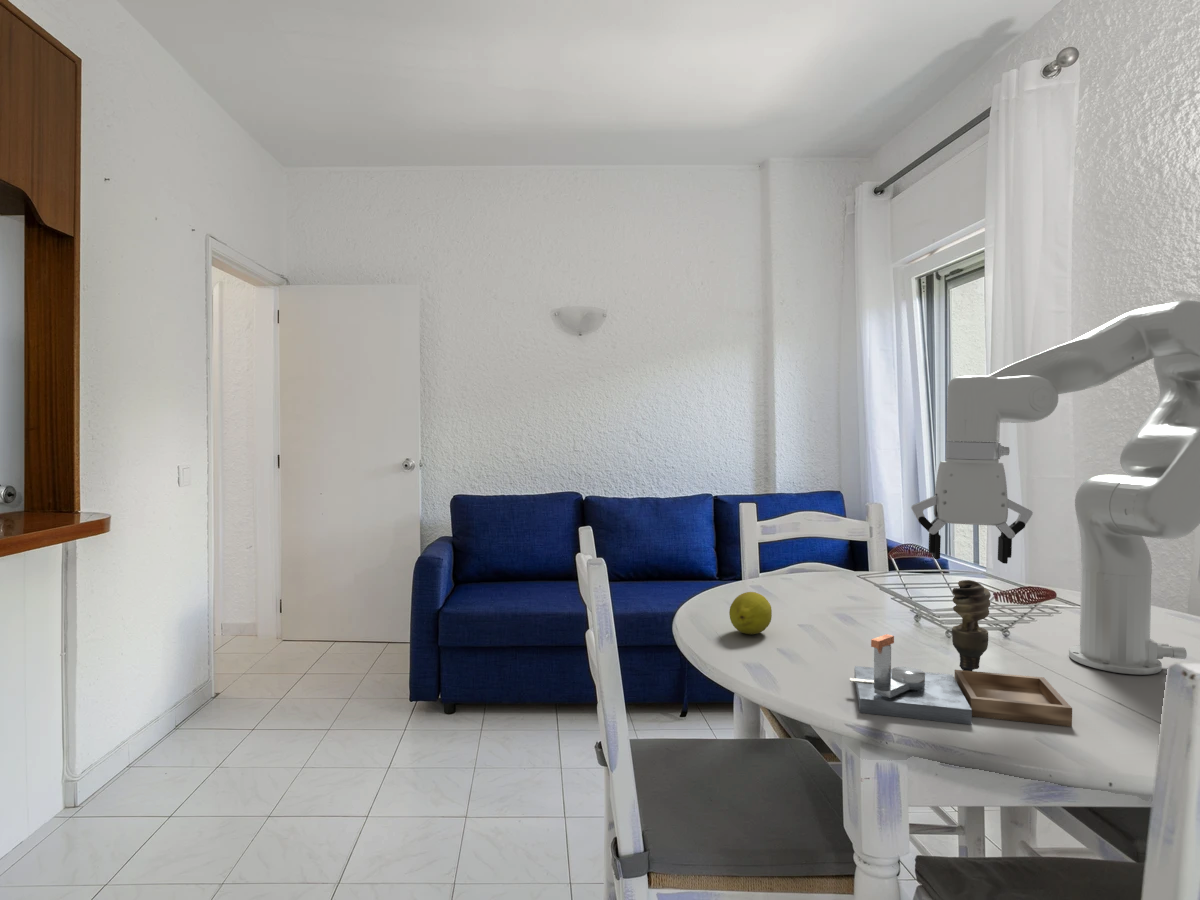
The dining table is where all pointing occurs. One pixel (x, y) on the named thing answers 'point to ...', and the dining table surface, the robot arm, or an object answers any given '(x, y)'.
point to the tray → (1013, 698)
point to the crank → (900, 675)
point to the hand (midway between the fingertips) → (968, 560)
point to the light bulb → (970, 623)
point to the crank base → (915, 699)
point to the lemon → (750, 613)
